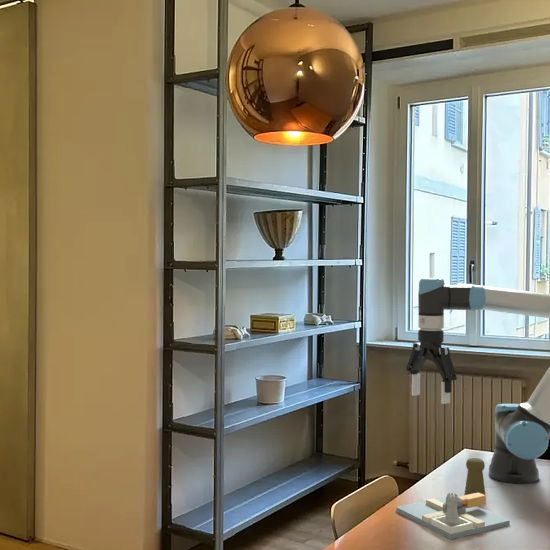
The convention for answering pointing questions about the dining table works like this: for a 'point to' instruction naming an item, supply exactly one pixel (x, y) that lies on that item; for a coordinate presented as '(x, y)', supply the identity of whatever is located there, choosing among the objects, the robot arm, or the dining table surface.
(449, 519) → the rook chess piece
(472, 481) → the brown pawn piece
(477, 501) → the hinged leg
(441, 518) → the socket
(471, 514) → the base plate with blocks
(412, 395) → the robot arm
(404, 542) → the dining table surface
